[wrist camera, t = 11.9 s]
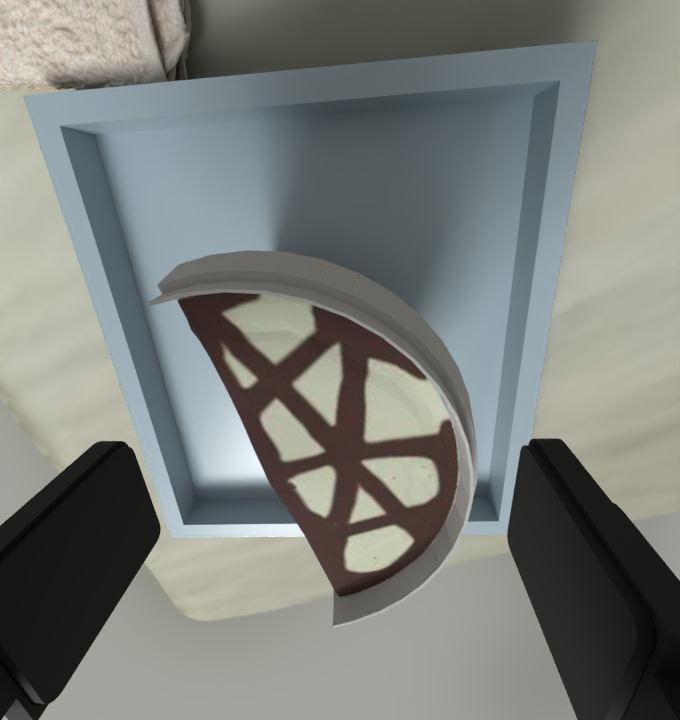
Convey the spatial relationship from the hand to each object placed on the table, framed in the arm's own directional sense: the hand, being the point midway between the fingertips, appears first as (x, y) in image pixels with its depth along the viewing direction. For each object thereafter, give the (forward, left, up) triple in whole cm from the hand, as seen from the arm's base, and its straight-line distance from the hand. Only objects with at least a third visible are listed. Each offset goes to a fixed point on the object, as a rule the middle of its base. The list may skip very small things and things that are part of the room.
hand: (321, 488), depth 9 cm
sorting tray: (+1, 0, -11) cm, 11 cm away
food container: (-1, 0, -11) cm, 11 cm away
